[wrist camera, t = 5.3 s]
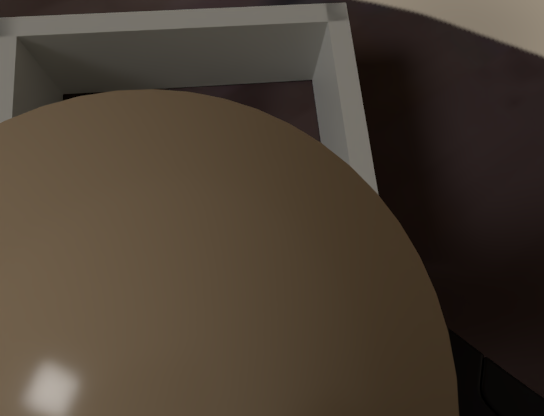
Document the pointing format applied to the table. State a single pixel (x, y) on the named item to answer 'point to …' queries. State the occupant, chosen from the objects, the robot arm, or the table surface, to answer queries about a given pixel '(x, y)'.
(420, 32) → the table surface
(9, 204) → the salt jar
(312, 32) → the dock housing
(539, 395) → the robot arm
